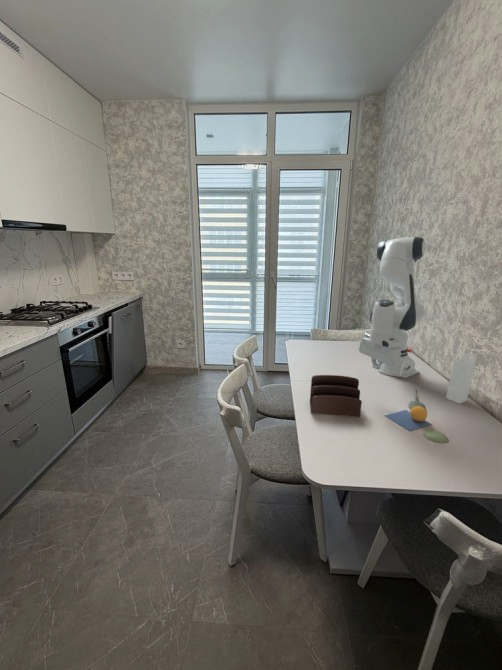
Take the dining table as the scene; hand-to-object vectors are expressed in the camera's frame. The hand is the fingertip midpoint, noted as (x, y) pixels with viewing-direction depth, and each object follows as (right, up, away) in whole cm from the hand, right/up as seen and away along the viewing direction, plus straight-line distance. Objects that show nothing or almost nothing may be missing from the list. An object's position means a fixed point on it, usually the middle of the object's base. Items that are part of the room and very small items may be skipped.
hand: (376, 368), depth 136 cm
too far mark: (+12, -22, -23) cm, 34 cm away
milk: (+39, -15, +5) cm, 42 cm away
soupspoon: (+20, -16, +4) cm, 25 cm away
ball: (+11, -17, -13) cm, 24 cm away
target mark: (+8, -19, -13) cm, 24 cm away
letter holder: (-20, -17, -5) cm, 27 cm away
